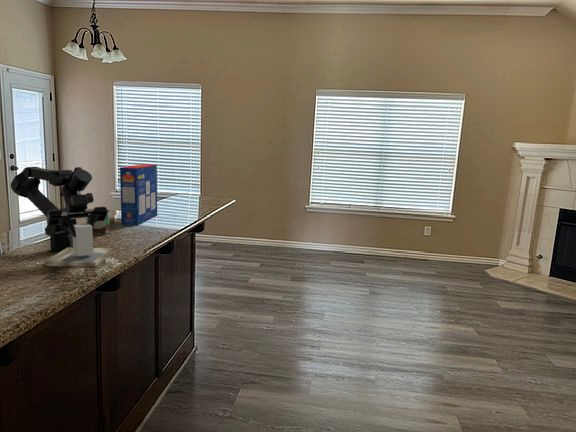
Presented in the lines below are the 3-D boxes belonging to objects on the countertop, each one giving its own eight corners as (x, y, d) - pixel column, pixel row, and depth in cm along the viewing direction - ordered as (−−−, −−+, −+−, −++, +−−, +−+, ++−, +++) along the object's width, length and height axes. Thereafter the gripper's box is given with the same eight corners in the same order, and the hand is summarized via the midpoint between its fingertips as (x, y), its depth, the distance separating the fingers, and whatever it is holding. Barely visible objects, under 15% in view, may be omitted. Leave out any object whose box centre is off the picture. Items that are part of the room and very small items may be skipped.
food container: (117, 232, 189) (117, 210, 187) (108, 235, 183) (107, 212, 181) (94, 229, 192) (94, 208, 190) (85, 232, 186) (84, 210, 184)
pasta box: (143, 214, 232) (142, 164, 227) (157, 215, 232) (156, 164, 227) (121, 224, 204) (119, 167, 199) (137, 225, 204) (136, 168, 199)
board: (45, 265, 139) (45, 261, 138) (67, 251, 156) (67, 246, 156) (95, 266, 140) (95, 261, 140) (112, 252, 158) (112, 247, 158)
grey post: (73, 252, 145) (72, 224, 143) (88, 250, 149) (87, 223, 147) (77, 256, 142) (76, 227, 140) (93, 254, 145) (92, 225, 143)
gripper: (46, 186, 138) (56, 225, 132) (105, 184, 150) (117, 219, 144) (42, 206, 145) (51, 244, 139) (98, 202, 157) (109, 237, 151)
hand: (83, 235), depth 143 cm, fingers closed on grey post, 5 cm apart
